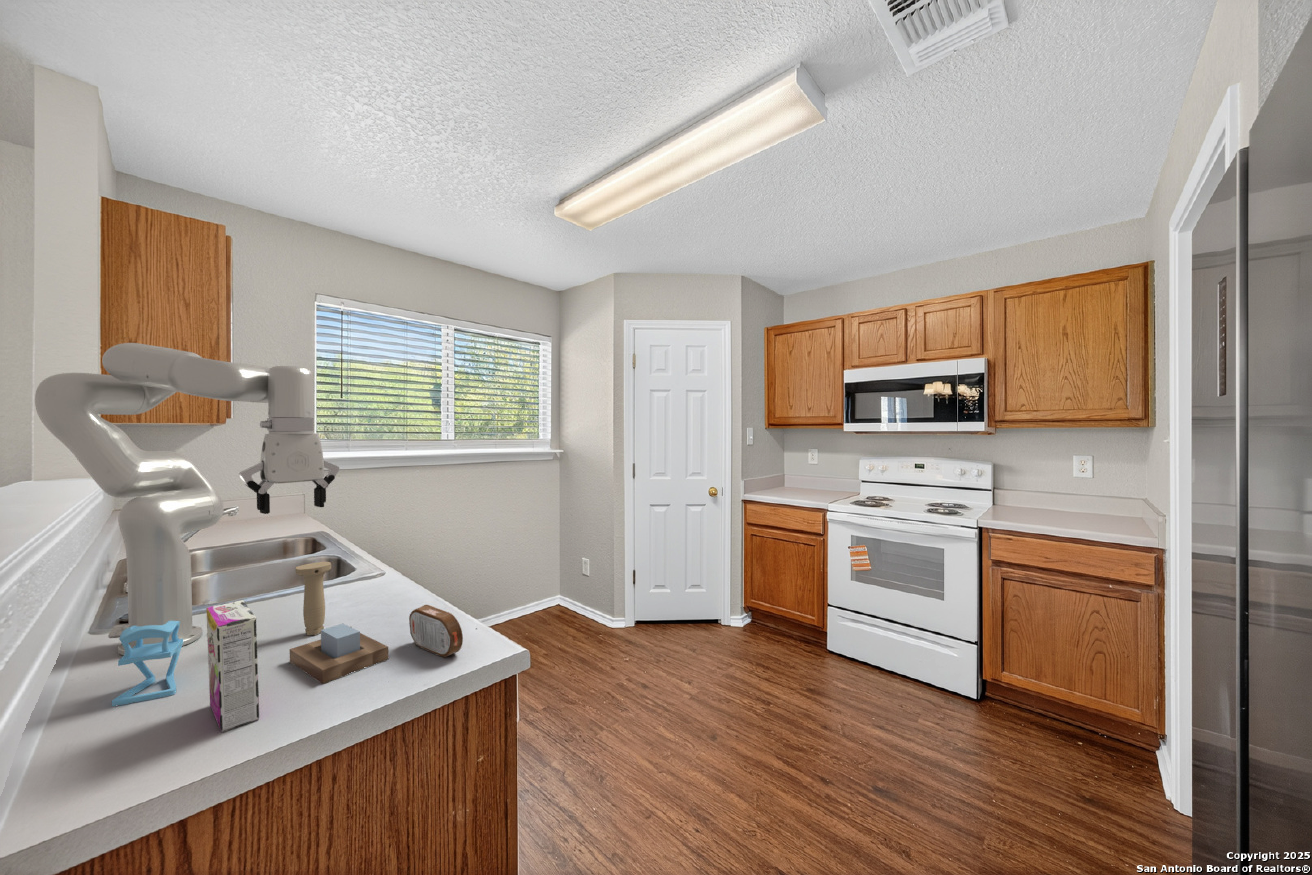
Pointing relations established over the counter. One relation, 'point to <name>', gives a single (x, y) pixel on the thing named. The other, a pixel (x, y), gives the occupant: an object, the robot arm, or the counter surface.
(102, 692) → the counter surface
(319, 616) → the handle
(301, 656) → the socket block
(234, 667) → the candy bar box
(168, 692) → the chair
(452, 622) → the tin
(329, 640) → the blue peg
